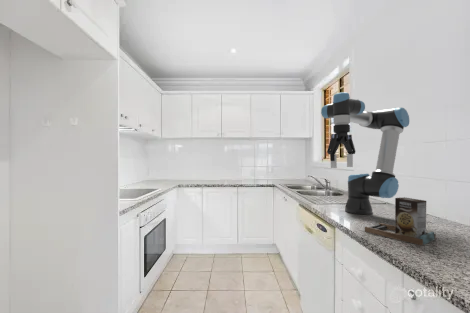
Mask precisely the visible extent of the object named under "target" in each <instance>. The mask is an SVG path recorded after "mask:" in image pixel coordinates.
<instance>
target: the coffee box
mask: <svg viewBox="0 0 470 313" xmlns="http://www.w3.org/2000/svg"><path fill="white" fill-rule="evenodd" d="M394 200H395V201H394V202H395V204H394V206H395V207H394V210H395V212H394V214H395V218H394V220H395V222H394V223H395V224H394V226H395V231H394V233H396V234H401V235H405V236H410V237H414V238H418V239H420V236H422V235H424V234H426V232H427V200H424V199H417V198H412V197H405V196H404V197H395V198H394Z"/></svg>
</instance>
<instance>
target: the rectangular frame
mask: <svg viewBox="0 0 470 313" xmlns="http://www.w3.org/2000/svg"><path fill="white" fill-rule="evenodd" d="M386 230H389V231H386ZM391 231H394V232H391ZM364 232H366V233H369V234H374V235H378V236H381V237H386V238H390V239H394V240H398V241H403V242H406V243H411V244H415V245H418V246H423V245H426V244H428V243H430V242H433V241H434V240H436V239H437V238H436V237H437V234H436V233H435V231H429V232H427V231H426V234H424V235H422V236H420V239H418V238H414V237H410V236H405V235H401V234H396V233H395V225H394V224H392V225H391V224H387V223H382V222H378V224H374V225H371V226H364Z"/></svg>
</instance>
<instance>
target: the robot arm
mask: <svg viewBox="0 0 470 313" xmlns="http://www.w3.org/2000/svg"><path fill="white" fill-rule="evenodd" d="M332 99H333V100H332V103H330V104H329V103H328V104H326V105H323V106H322V107H321V111H320V114H321V117H322V118H324V119H333V127H332V128H333V131H332V132H333V133H331V135H330V140H329V145H328V147H327V151H326V153H327V154H328V155H330V169H337V168H338V166H337V164H338V163H337V154H336V153H337V150H338V149H339V147H340V145H341V144H342V145H343V146H344V148H345V150H346V152H347V154H346V167H347V168H353V167H354V165H353V164H354V163H353V162H354V157H353V156H354V155H355V154H356V149H355V144H354V142H353V137H352V136H353V135H352V134H348V133H350V132H351V126H350V123H353V124H358V125H359V126H360V127H363V128H367V129H373V130H380V132H382V135H381V139H380V145H379V150H378V155H377V161H376V167H375V170H373V171H372V173H371V175H370V174H369V173H358V174H350V175H348V177H347V178H348V179H347V201H346V204H345V206H344V211H345V212H347V213H348V214H349V213H350V214H355V215H356V214H357V215H371V214H373V206H372V205H371V204H372V203H371V201H370V197H375V198H381V199H391V198H394V197H395V196H396V195H397V193H398V191H399V187H400V186H399V180H398V179H397V178H396V174H394V168H395V163H396V162H395V161H396V157H397V152H398V151H397V149H398V144H399V140H400V134H402V133H403V132H404V128H407V127H408V126H409V124H410V115H409V112H408V111H407V109H405V108H404V107H394V108H389V109H388V108H387V109H381V110H376V111H367V110H366V104H365V102H364V101H363V100H359V99H353V98H351V96H350V93H349V92H345V91H343V92H337V93H335V94H333V98H332ZM365 110H366V111H365Z"/></svg>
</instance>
